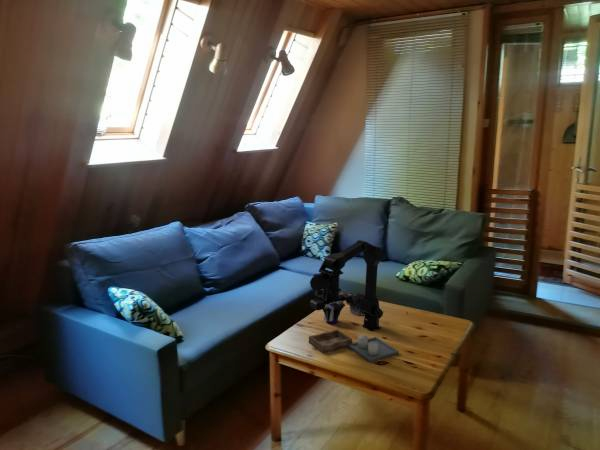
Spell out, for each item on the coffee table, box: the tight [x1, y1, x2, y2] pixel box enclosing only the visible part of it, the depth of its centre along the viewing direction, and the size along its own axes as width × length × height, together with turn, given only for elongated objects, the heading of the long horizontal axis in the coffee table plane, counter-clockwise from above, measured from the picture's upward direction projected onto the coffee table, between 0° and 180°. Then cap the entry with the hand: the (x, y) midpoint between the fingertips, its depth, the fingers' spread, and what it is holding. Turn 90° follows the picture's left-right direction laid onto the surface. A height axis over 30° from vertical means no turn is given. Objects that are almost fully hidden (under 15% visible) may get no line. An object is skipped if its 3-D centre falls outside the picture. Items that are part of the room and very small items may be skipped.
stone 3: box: [368, 342, 378, 356], centre depth 189 cm, size 4×4×4 cm
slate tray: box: [347, 336, 400, 364], centre depth 194 cm, size 15×15×1 cm
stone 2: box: [357, 334, 369, 349], centre depth 195 cm, size 4×4×4 cm
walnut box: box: [308, 329, 353, 354], centre depth 199 cm, size 15×11×3 cm
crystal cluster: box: [348, 292, 366, 317], centre depth 235 cm, size 13×14×10 cm
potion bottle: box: [325, 303, 341, 325], centre depth 220 cm, size 9×9×12 cm
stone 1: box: [323, 308, 333, 322], centre depth 198 cm, size 4×4×4 cm
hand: (331, 320), depth 197 cm, fingers closed on stone 1, 3 cm apart
